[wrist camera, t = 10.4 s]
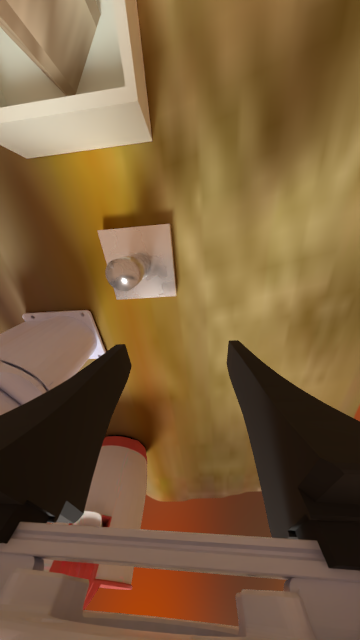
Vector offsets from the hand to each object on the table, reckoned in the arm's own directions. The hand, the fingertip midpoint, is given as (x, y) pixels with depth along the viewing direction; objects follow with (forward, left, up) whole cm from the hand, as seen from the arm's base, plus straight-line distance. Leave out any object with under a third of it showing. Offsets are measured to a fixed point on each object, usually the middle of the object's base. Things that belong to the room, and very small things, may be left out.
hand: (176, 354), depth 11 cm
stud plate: (-4, +5, -9) cm, 11 cm away
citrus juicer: (-17, -36, -10) cm, 41 cm away
